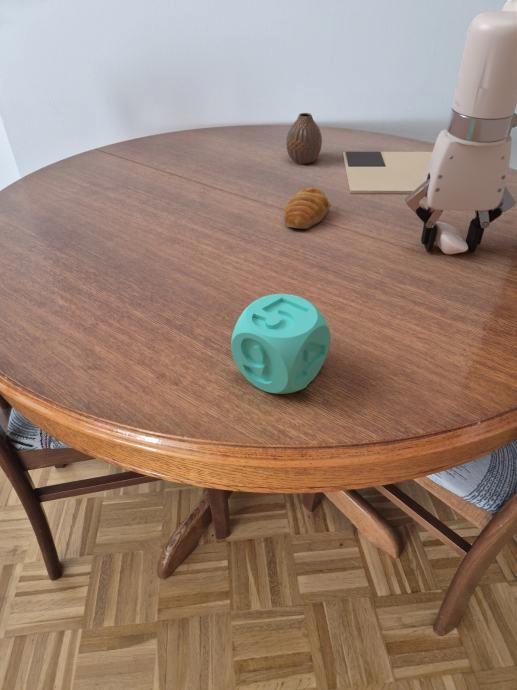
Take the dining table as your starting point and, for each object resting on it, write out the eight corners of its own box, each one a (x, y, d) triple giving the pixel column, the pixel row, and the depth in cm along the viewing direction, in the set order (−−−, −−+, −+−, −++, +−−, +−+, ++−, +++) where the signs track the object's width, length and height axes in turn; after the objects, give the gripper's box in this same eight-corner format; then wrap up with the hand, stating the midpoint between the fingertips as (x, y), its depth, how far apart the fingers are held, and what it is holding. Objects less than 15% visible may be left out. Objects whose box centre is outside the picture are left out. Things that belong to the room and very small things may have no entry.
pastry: (314, 235, 85) (315, 213, 83) (274, 228, 87) (274, 206, 85) (332, 210, 92) (333, 188, 89) (294, 203, 94) (295, 182, 91)
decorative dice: (328, 365, 63) (334, 310, 57) (288, 406, 58) (290, 349, 53) (273, 338, 66) (273, 284, 61) (231, 374, 62) (227, 319, 57)
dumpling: (421, 242, 84) (429, 216, 82) (452, 246, 85) (461, 221, 83) (438, 258, 78) (447, 231, 76) (471, 262, 79) (481, 236, 77)
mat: (442, 154, 109) (443, 150, 109) (464, 194, 96) (465, 189, 95) (342, 154, 110) (342, 150, 110) (350, 193, 97) (350, 189, 96)
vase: (326, 157, 109) (329, 112, 103) (310, 169, 105) (312, 123, 99) (296, 151, 112) (298, 106, 106) (279, 162, 107) (280, 116, 102)
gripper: (536, 114, 72) (499, 235, 84) (406, 115, 73) (387, 234, 85) (558, 135, 66) (514, 261, 78) (416, 135, 67) (394, 260, 79)
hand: (448, 246), depth 81 cm, fingers open, 5 cm apart
